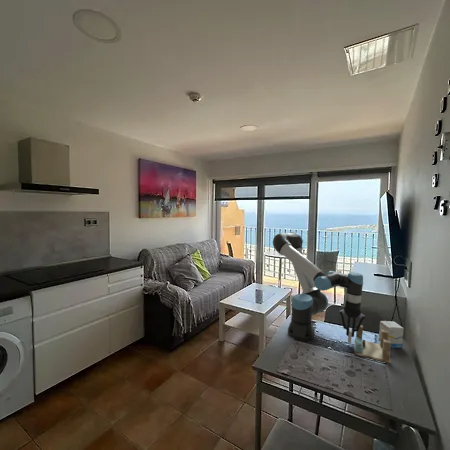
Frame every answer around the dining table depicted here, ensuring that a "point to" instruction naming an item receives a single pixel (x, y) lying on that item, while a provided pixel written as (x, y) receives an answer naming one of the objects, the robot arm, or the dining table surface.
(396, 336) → the ink box
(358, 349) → the hinged leg
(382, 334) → the stool seat
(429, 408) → the dining table surface
